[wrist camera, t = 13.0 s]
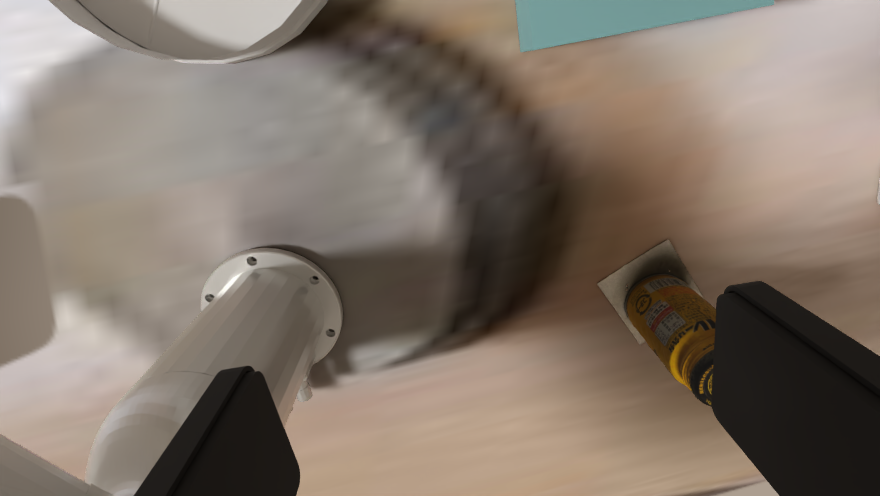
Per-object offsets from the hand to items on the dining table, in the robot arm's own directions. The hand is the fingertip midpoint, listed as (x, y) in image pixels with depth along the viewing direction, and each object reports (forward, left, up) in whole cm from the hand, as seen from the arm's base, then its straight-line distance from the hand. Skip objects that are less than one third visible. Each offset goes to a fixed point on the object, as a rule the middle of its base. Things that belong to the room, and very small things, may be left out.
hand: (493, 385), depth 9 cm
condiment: (-17, -17, -31) cm, 39 cm away
